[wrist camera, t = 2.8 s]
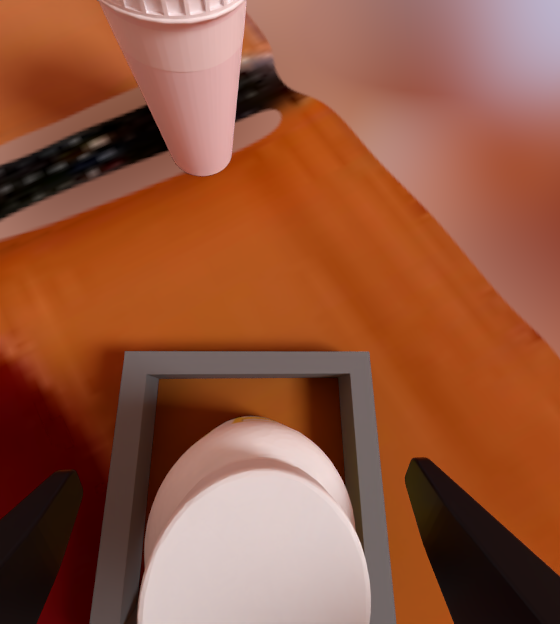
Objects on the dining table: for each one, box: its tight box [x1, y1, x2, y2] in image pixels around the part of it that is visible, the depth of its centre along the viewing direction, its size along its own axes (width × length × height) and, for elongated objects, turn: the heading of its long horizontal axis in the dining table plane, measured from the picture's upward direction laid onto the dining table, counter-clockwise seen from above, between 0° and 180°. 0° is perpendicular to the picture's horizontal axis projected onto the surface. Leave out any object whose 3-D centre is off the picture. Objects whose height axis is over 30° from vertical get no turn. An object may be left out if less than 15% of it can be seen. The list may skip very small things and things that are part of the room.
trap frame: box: [90, 351, 396, 624], centre depth 14 cm, size 11×11×2 cm
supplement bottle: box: [137, 416, 371, 624], centre depth 10 cm, size 5×5×10 cm
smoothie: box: [97, 0, 246, 176], centre depth 13 cm, size 6×6×14 cm
